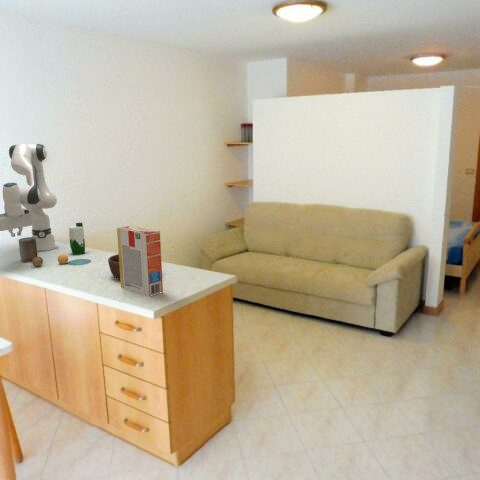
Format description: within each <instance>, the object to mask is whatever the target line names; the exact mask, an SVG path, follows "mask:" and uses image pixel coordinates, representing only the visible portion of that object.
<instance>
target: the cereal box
mask: <svg viewBox="0 0 480 480" xmlns="http://www.w3.org/2000/svg"><path fill="white" fill-rule="evenodd" d="M116 234H117V236H116V237H117V249H118V252H117V253H118V254H119V266H120V279H119V280H120V287H121V288H122V289H125V290H129V291H132V292H134V293H137V294H140V295H143V294H144V295H143V296H146V295H147V296H146V297H148V296H150V297H152V296H151V295H153V296H155V295H154V294H157V293H160V292H163V293H164V290H163V289H164V286H163V268H162V267H163V265H162V248H161V247H162V246H161V244H162V243H161V231H160V230H155V229H151V228H145V227H140V226H134V225H128V226H120V227H116ZM160 294H161V293H160ZM157 295H158V294H157Z"/></svg>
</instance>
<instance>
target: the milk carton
mask: <svg viewBox="0 0 480 480" xmlns="http://www.w3.org/2000/svg"><path fill="white" fill-rule="evenodd" d="M68 228H69V229H68V230H69V231H68V237H69V246H70V251H71V253H72V256H77V255H85V254H86V241H85V231H84V225H83V222H76V223H75V225H71V226H69V227H68Z"/></svg>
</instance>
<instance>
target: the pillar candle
mask: <svg viewBox="0 0 480 480" xmlns="http://www.w3.org/2000/svg"><path fill="white" fill-rule="evenodd" d="M18 247H19V253H20V261H21V262H22V263H32V259H33V258H34V257H37V256H38V257H39V255H38V251H37V246H36V238H34V237H32V236H31V237H29V236H28V237H27V236H26V237H22V238H19V239H18Z"/></svg>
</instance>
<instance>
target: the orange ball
mask: <svg viewBox="0 0 480 480" xmlns="http://www.w3.org/2000/svg"><path fill="white" fill-rule="evenodd" d="M57 262H58V263H59V264H61V265H65V264H67V262H69V256H68V255H67V254H65V253H60V254H59V255H58V256H57Z"/></svg>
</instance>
